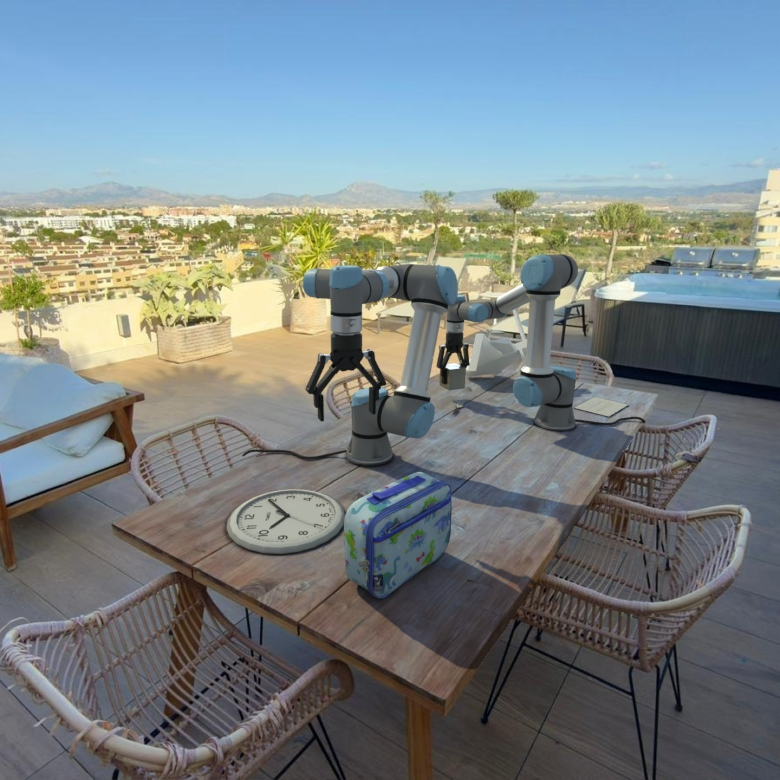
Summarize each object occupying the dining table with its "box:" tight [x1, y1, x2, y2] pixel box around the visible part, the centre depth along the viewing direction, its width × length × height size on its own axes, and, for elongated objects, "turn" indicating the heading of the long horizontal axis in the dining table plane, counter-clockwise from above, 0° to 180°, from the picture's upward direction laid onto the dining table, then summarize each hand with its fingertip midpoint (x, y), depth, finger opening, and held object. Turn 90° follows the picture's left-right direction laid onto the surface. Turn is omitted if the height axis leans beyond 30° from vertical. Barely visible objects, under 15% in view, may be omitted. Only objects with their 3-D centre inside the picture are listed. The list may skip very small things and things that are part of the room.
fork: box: [452, 399, 465, 416], centre depth 218 cm, size 3×16×2 cm, turn 160°
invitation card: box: [573, 396, 629, 418], centre depth 226 cm, size 21×1×15 cm
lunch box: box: [343, 471, 453, 599], centre depth 113 cm, size 26×11×21 cm, turn 134°
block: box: [439, 363, 466, 391], centre depth 230 cm, size 8×8×9 cm
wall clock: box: [226, 488, 346, 555], centre depth 135 cm, size 30×2×30 cm
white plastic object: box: [465, 308, 527, 378], centre depth 259 cm, size 37×45×31 cm
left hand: (347, 416), depth 131 cm, fingers open, 13 cm apart
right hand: (452, 382), depth 231 cm, fingers closed on block, 8 cm apart
